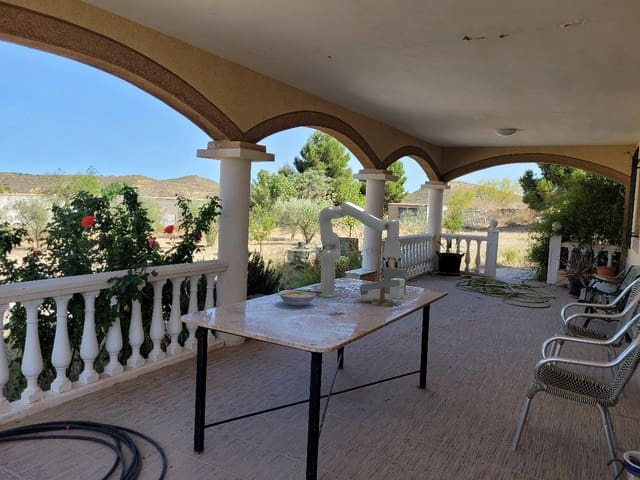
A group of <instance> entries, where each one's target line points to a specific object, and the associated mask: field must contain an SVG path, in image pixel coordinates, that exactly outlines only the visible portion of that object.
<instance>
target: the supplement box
mask: <svg viewBox="0 0 640 480" xmlns="http://www.w3.org/2000/svg"><path fill="white" fill-rule="evenodd" d="M397 279H399V278H394V279H390V280H397ZM399 280H400V286H395V287H390V293H389V299H398V300H400V299H402V298H404V297H405V294H404V283H405V279H399Z"/></svg>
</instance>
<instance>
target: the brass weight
mask: <svg viewBox="0 0 640 480" xmlns="http://www.w3.org/2000/svg"><path fill="white" fill-rule="evenodd" d="M387 261H388V268H387V269H395V266H396V258H389V257H388V260H387Z"/></svg>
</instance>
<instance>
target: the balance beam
mask: <svg viewBox="0 0 640 480" xmlns="http://www.w3.org/2000/svg"><path fill="white" fill-rule="evenodd" d="M395 286H400V280H399V279H397V280H390V281H384V280H383V281H379V282H373V283H372V282H371V283H365V284H360V286H359V293H360V295H361V296H365V295H368V293H369V291H374V290H380V287H384V288H388V287H395Z"/></svg>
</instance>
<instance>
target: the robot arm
mask: <svg viewBox="0 0 640 480" xmlns="http://www.w3.org/2000/svg"><path fill="white" fill-rule="evenodd" d="M348 216H349V217H351V218H353V219H354V220H357V221H359V222H360V223H361V224H362V225H364V226H366V227H368V228H370V229H372V230H374V231H376V232H384V231H386V236H385V237H384V247H383V252H382V253H381V254H380V255H379V257H380V258H381V259H382V260H384V262H385V267H384V268H388V257H389V258H396V266H395V268H396V269H398V267H399V262H400V261H401V260H403V259H404V258H405V256H404V255H403V254H402V252H401V242H400V221H399V220H398V219H385V218H377V217H376V216H374V215H373V214H371V213H370V212H368V210H367V209H366V208H365V207H363V206H360V205H358V204H357V202H355V201H353V200H346V201H343V202H342V203H341V204H339V205H336V206H335V205H334V206H333V205H330V206H326V207H324V208H323V209H322V210H321V211H320V212H319V216H318V223H319V234H320V236H319V237H320V243H321V245H322V246H323V247H325V249H324V250H322V252H321V253H320V255H319V256H320V257H319V258H320V266H321V267H320V287H319V288H314V289H313V291H316V292H322V293H321V294H319V293H317V294H318V296H319V297H323V298H324V297H325V298H333V297H335V298H336V297H337V296H338V293H336V291H335V290H336V262H338V261H339V260H340V258H341V255H342V254H341V253H342V252H341V242H340V237H339V234H338V233H336V232H334V230H333V223H332V220H337V219H342V218H344V217H348ZM385 240H386V241H385Z"/></svg>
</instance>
